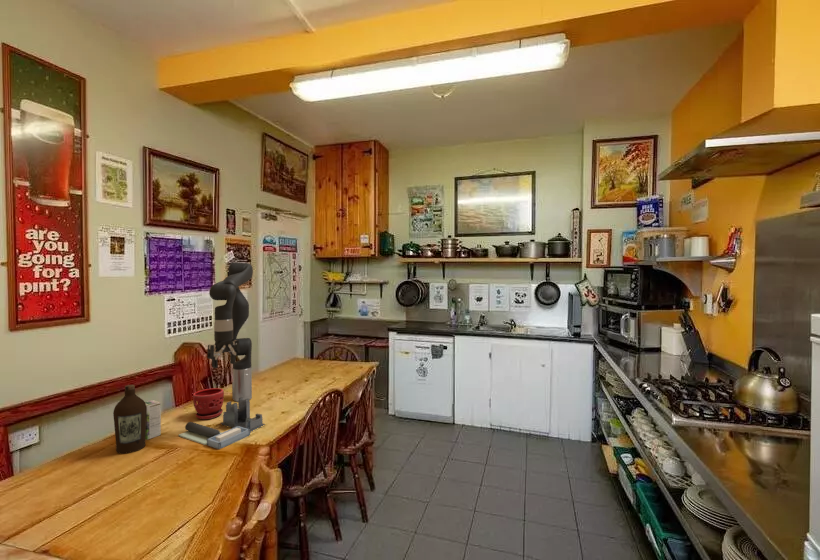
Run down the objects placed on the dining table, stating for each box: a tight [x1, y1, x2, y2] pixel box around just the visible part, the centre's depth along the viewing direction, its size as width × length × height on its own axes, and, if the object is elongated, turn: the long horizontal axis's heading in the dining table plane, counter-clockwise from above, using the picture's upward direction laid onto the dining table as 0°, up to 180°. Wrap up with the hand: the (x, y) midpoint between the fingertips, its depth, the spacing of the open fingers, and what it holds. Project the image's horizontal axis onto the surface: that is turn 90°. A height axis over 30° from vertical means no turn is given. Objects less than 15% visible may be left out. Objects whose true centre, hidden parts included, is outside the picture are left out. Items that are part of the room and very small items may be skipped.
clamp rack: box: [220, 397, 266, 433], centre depth 174 cm, size 19×8×11 cm, turn 62°
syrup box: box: [144, 399, 162, 440], centre depth 163 cm, size 6×6×14 cm
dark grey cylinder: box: [184, 421, 221, 438], centre depth 163 cm, size 18×4×4 cm, turn 62°
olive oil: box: [112, 384, 147, 454], centre depth 151 cm, size 11×11×25 cm
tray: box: [206, 426, 251, 450], centre depth 159 cm, size 8×15×2 cm, turn 152°
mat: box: [177, 430, 223, 446], centre depth 163 cm, size 18×10×1 cm, turn 62°
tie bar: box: [216, 428, 241, 442], centre depth 159 cm, size 3×10×3 cm, turn 153°
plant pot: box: [192, 387, 225, 420], centre depth 185 cm, size 13×13×12 cm
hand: (224, 365), depth 170 cm, fingers open, 8 cm apart
